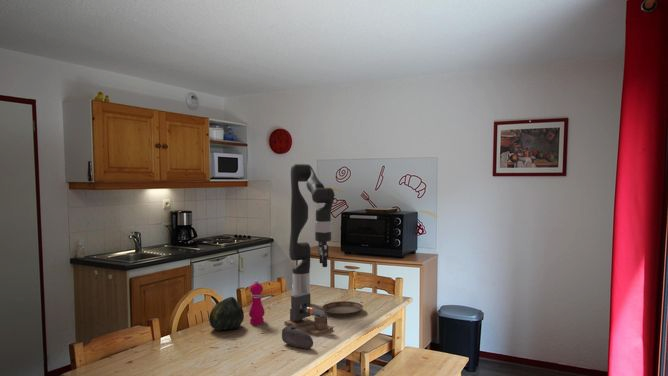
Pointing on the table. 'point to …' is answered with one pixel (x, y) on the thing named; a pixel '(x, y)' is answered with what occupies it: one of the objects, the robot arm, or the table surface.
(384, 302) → the table surface
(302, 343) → the perforated stone tool
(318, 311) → the pipe
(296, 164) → the robot arm
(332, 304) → the plant saucer
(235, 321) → the squash
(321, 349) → the table surface
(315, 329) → the pipe stand
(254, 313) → the pepper mill
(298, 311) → the collar
